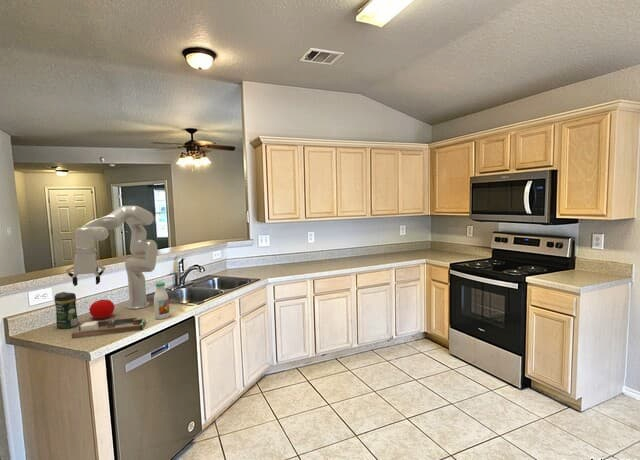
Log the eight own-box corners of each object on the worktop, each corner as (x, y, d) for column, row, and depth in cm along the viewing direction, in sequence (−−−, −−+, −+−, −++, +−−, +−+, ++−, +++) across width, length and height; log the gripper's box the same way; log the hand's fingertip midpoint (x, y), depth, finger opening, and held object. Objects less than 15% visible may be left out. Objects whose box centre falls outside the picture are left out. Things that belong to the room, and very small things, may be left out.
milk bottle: (153, 320, 194) (151, 285, 192) (156, 315, 201) (153, 281, 200) (168, 318, 196) (166, 283, 194) (170, 314, 203) (168, 280, 202)
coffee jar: (53, 328, 185) (50, 293, 183) (69, 323, 192) (66, 290, 191) (66, 330, 182) (63, 295, 180) (81, 324, 189) (78, 291, 187)
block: (85, 332, 179) (84, 322, 178) (98, 330, 180) (97, 321, 180) (81, 336, 173) (80, 326, 172) (95, 334, 175) (94, 324, 174)
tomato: (103, 321, 194) (102, 302, 193) (85, 320, 197) (83, 302, 196) (119, 314, 205) (117, 297, 204) (101, 313, 208) (100, 296, 207)
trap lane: (82, 328, 184) (81, 323, 184) (146, 320, 193) (146, 316, 193) (71, 338, 170) (71, 333, 170) (142, 329, 179) (141, 325, 179)
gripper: (106, 250, 185) (107, 282, 185) (67, 251, 179) (69, 284, 180) (102, 251, 178) (104, 284, 178) (62, 253, 172) (64, 287, 173)
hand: (86, 284), depth 179 cm, fingers open, 9 cm apart
